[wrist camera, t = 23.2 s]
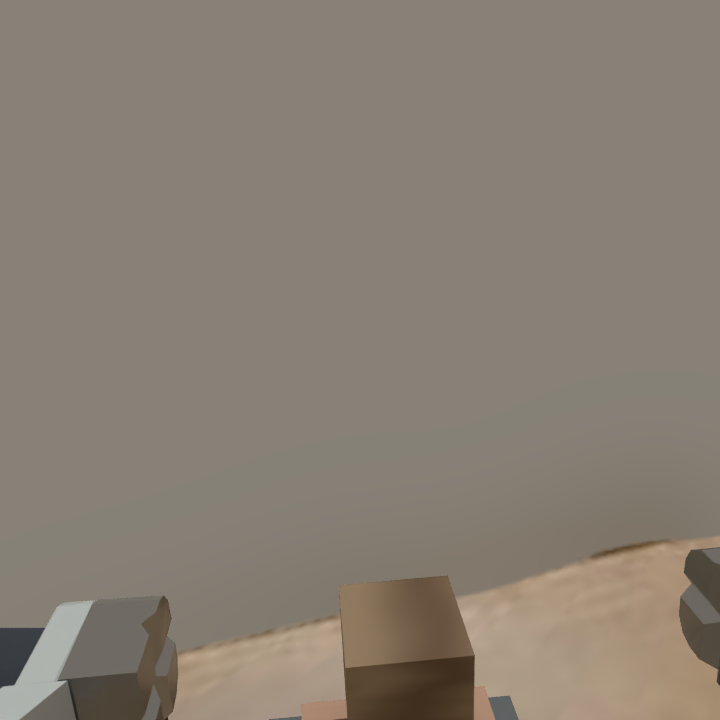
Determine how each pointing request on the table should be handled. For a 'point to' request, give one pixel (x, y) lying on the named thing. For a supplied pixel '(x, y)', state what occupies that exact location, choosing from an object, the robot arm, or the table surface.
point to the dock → (490, 714)
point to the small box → (16, 652)
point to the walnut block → (405, 651)
